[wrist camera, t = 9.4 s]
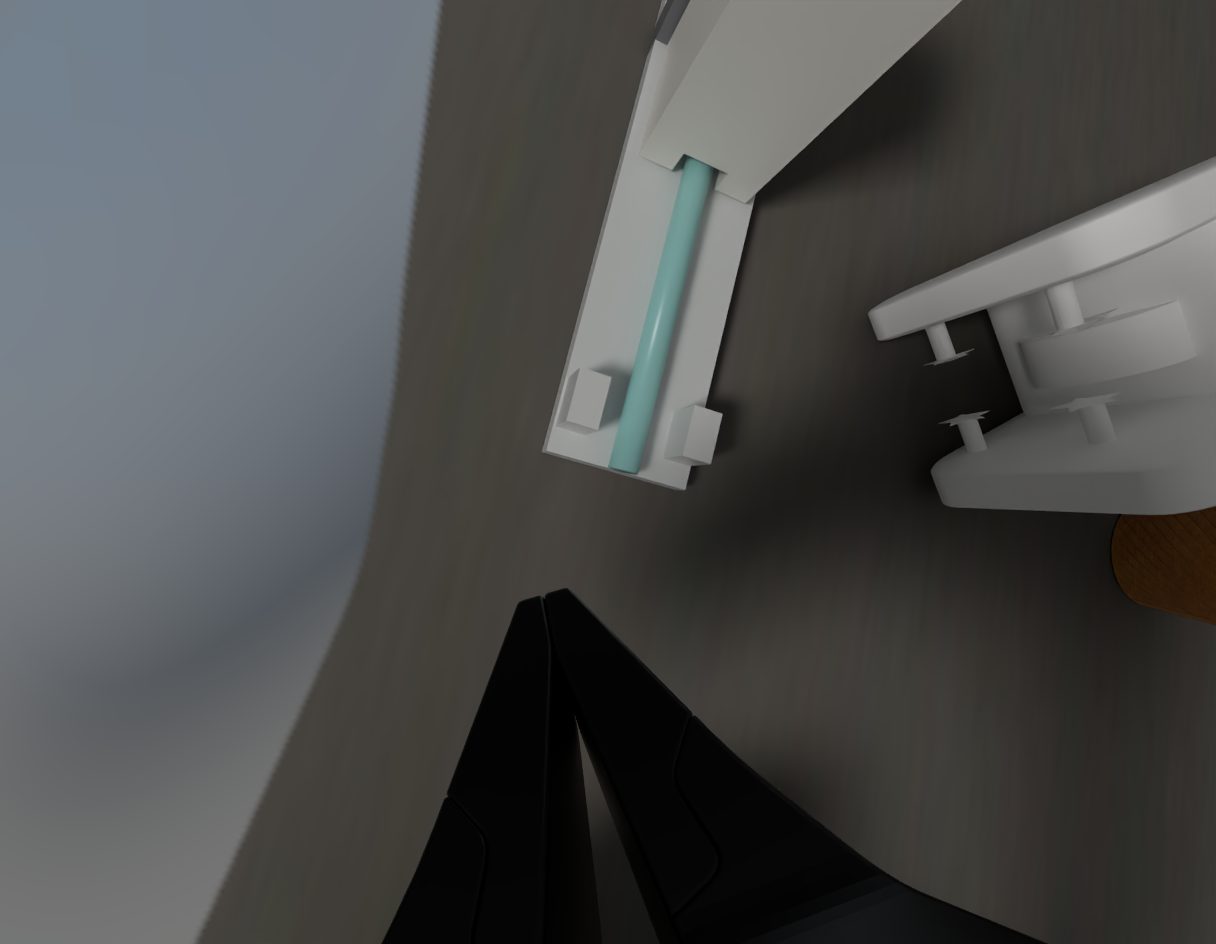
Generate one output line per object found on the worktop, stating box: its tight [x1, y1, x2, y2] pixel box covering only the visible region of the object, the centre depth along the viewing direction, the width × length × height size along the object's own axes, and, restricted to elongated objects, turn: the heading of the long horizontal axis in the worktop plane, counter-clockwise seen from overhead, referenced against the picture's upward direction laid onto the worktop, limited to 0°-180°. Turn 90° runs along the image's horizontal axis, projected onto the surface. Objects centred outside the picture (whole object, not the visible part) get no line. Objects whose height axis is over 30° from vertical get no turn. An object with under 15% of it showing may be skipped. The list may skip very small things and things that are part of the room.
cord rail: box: [542, 0, 756, 490], centre depth 22 cm, size 24×6×5 cm, turn 166°
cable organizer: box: [868, 156, 1216, 515], centre depth 24 cm, size 15×11×12 cm
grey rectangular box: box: [639, 0, 962, 203], centre depth 18 cm, size 5×5×12 cm
